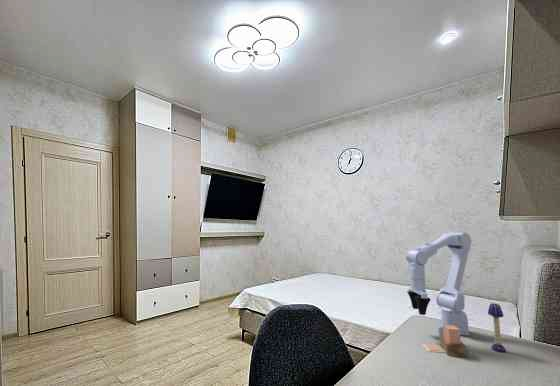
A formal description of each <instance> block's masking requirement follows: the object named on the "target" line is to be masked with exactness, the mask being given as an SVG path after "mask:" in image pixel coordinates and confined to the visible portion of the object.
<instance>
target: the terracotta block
mask: <svg viewBox="0 0 560 386" xmlns="http://www.w3.org/2000/svg"><path fill="white" fill-rule="evenodd" d="M461 337H462V335H460V329H459V328H457V327H456V326H454V325H443V339H445V340H446V341H447V342H448V343H450V344H461V342H462V339H461Z"/></svg>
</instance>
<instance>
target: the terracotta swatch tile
mask: <svg viewBox="0 0 560 386" xmlns="http://www.w3.org/2000/svg"><path fill="white" fill-rule="evenodd" d="M422 346H423V347H424V348H425V349H426V350H427V351H428V352H433V353H445V354H446V352H445V351H444V350H443V349H442V346H440V345H439V344H432V343H422Z"/></svg>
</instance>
